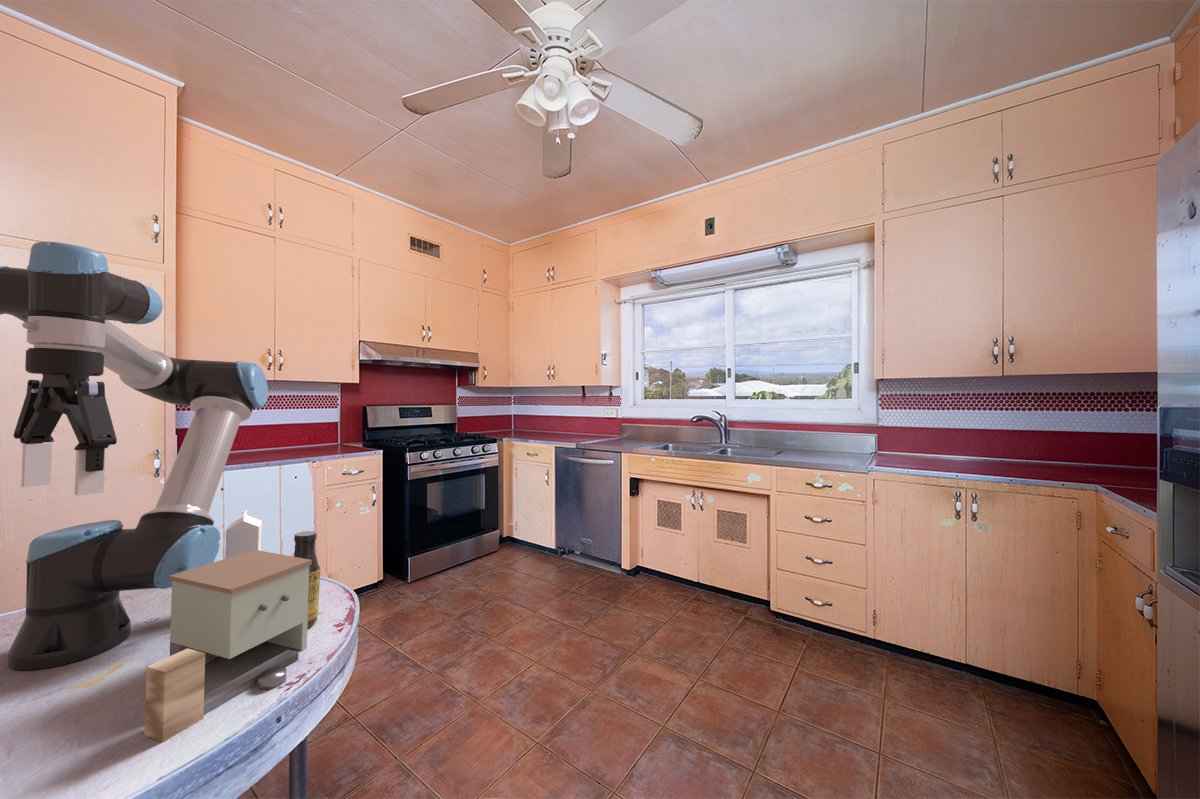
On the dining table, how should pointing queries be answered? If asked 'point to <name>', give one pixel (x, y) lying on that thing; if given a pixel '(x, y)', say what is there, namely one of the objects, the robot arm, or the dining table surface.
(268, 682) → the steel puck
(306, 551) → the sauce bottle
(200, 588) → the cabinet
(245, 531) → the milk
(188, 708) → the wooden toy block
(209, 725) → the dining table surface
